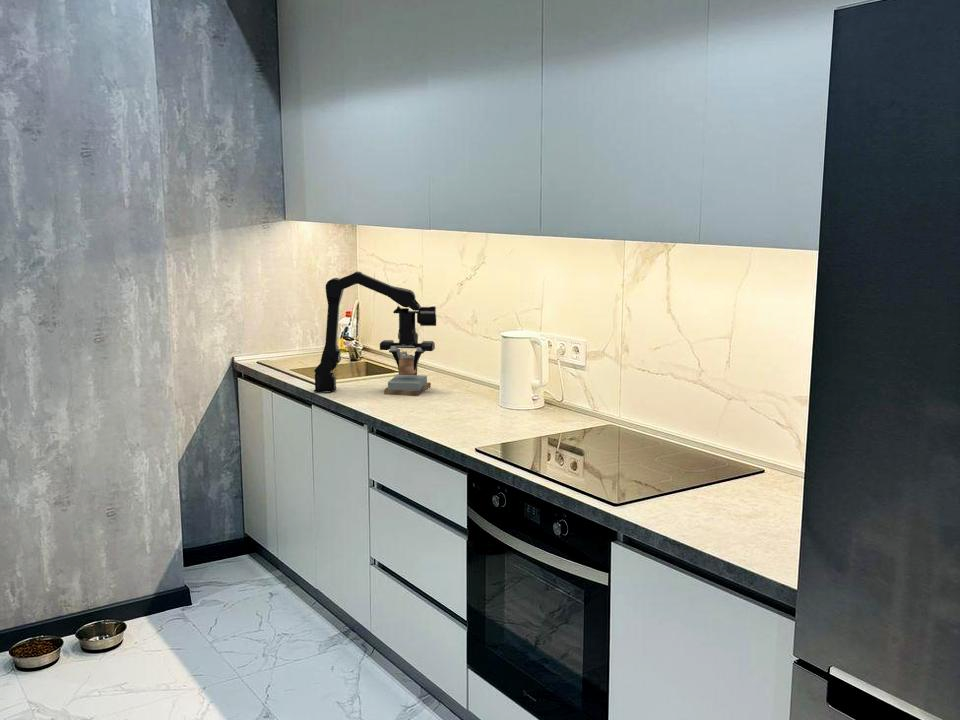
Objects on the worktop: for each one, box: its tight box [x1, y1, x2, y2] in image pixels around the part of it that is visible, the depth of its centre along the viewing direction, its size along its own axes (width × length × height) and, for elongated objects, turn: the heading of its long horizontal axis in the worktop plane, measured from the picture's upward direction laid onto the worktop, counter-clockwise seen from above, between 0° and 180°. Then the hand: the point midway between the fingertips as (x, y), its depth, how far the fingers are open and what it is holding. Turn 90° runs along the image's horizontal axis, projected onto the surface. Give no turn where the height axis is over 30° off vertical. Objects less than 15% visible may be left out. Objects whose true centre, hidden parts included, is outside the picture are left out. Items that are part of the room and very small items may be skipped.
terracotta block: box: [398, 358, 416, 375], centre depth 345 cm, size 5×5×5 cm
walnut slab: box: [383, 381, 432, 397], centre depth 347 cm, size 12×16×2 cm
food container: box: [397, 351, 418, 375], centre depth 365 cm, size 12×6×10 cm, turn 25°
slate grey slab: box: [387, 374, 428, 391], centre depth 346 cm, size 11×15×2 cm
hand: (407, 369), depth 346 cm, fingers closed on terracotta block, 5 cm apart
